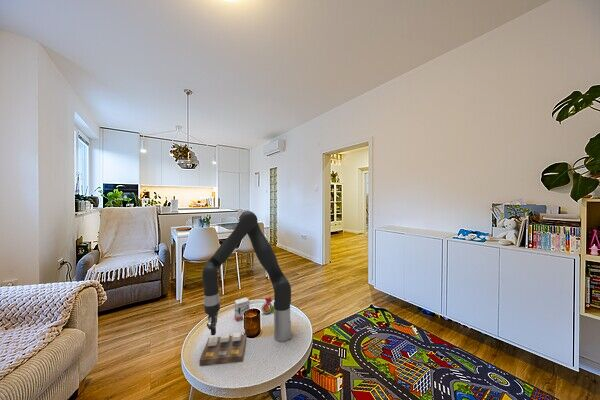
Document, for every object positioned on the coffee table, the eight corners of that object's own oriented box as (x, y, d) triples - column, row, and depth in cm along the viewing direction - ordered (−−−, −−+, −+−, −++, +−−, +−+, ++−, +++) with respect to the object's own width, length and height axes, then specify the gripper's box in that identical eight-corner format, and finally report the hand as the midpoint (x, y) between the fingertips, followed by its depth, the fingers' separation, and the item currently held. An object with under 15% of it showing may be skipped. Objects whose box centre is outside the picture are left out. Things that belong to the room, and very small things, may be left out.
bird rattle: (267, 319, 148) (278, 310, 152) (260, 306, 145) (272, 297, 149) (264, 315, 153) (275, 306, 157) (257, 302, 151) (269, 293, 155)
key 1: (218, 340, 120) (218, 336, 119) (216, 345, 116) (216, 341, 115) (210, 340, 119) (210, 337, 119) (208, 346, 115) (208, 342, 115)
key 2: (241, 335, 121) (241, 331, 121) (240, 340, 117) (240, 336, 117) (233, 336, 120) (233, 332, 120) (232, 341, 116) (232, 337, 116)
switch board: (246, 339, 125) (246, 333, 125) (242, 361, 110) (242, 355, 109) (208, 343, 123) (208, 337, 123) (199, 366, 107) (199, 359, 107)
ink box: (237, 322, 142) (236, 303, 142) (234, 318, 146) (234, 300, 146) (250, 317, 147) (249, 299, 146) (247, 314, 151) (246, 296, 150)
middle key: (229, 336, 120) (229, 332, 120) (228, 341, 116) (228, 337, 116) (222, 337, 120) (222, 333, 120) (220, 342, 116) (220, 338, 116)
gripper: (216, 307, 110) (218, 342, 111) (222, 295, 123) (223, 325, 124) (200, 309, 109) (202, 343, 110) (207, 296, 122) (209, 327, 123)
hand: (213, 334), depth 117 cm, fingers closed
